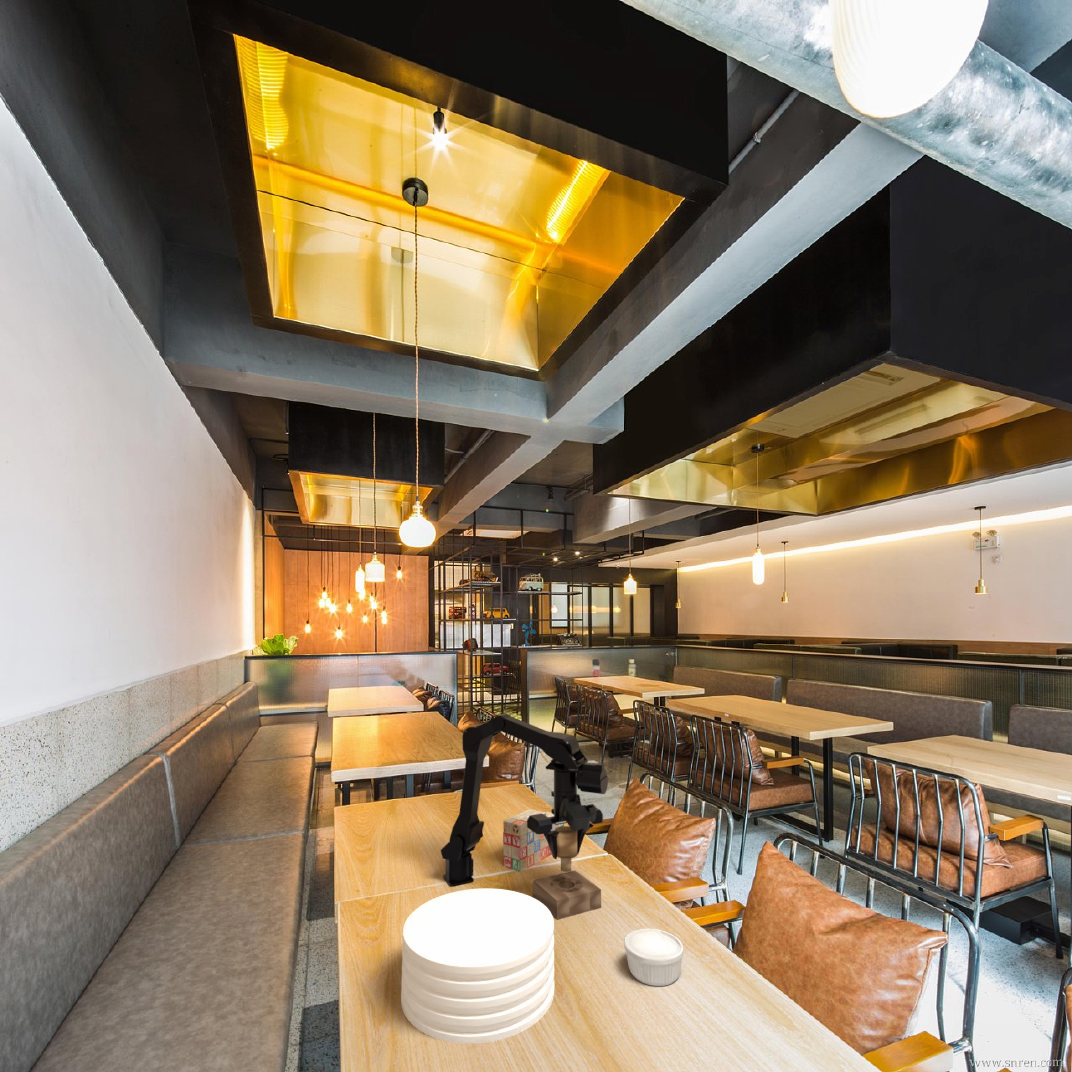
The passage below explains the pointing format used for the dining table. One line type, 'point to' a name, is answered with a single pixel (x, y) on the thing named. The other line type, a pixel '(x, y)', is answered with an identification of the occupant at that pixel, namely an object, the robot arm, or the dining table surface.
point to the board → (567, 894)
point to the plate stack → (477, 965)
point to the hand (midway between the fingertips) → (565, 856)
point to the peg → (566, 846)
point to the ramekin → (654, 956)
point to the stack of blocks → (523, 842)
